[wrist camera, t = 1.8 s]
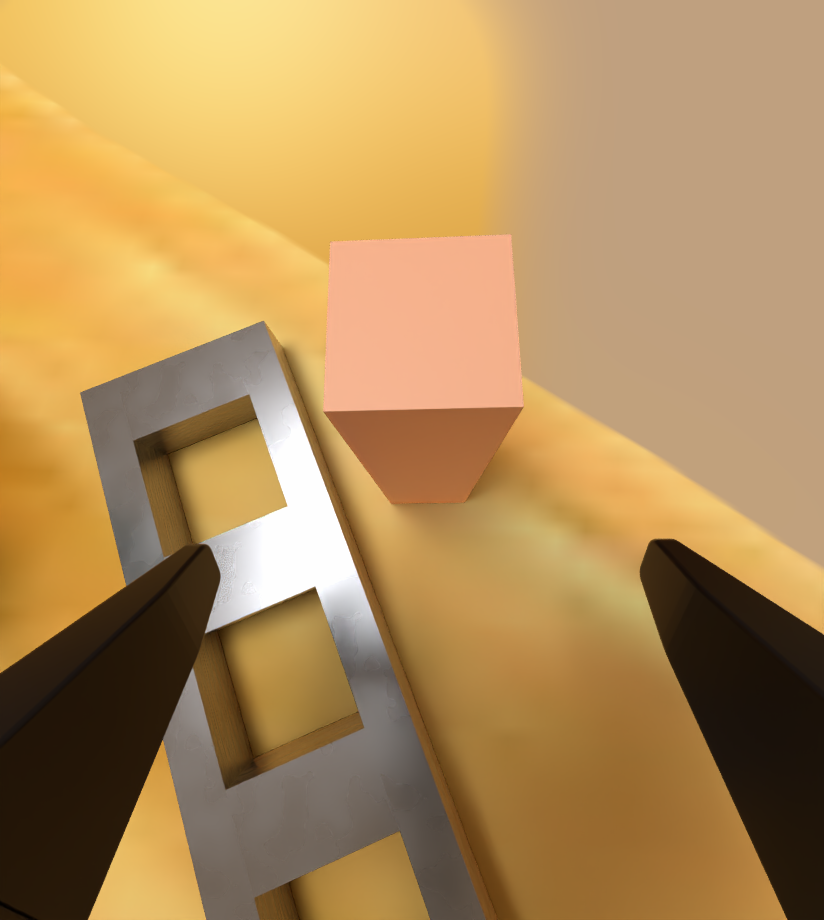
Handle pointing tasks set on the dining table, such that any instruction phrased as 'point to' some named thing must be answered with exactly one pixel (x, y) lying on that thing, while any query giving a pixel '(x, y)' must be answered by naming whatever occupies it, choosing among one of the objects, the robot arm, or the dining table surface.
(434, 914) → the rail
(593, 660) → the dining table surface
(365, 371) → the peg
